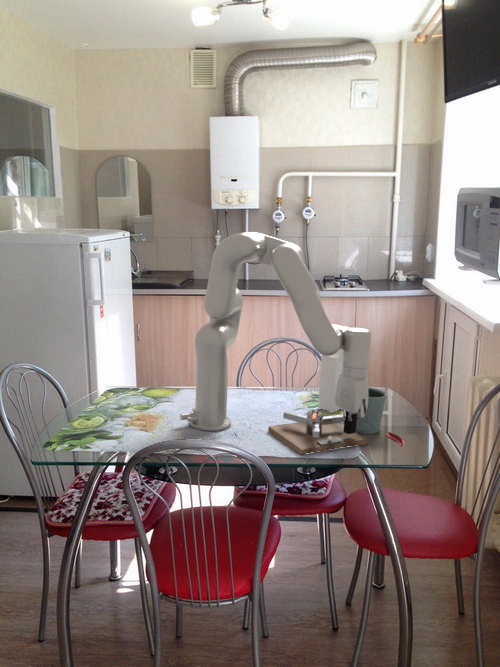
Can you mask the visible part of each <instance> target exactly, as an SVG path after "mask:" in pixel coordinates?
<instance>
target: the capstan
mask: <svg viewBox="0 0 500 667" xmlns="http://www.w3.org/2000/svg"><path fill="white" fill-rule="evenodd" d="M282 419H285V420H289V421H293V422H295V423H297V422H300V423H304V424H306V432H307V433H309V434H312V436H313V437H316V438H319V434H321V433H322V425H327V424H334V423H339V424H341V423H344V418H343V414H333V415H327V416H324V413H323V412H320V410H319V409H312V410H311V411H308V412H307V413H306V415H304V414H301V413H300V414H299V413H296V412H292V411H288V410H286V411H284V412H283V417H282Z"/></svg>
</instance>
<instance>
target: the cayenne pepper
mask: <svg viewBox="0 0 500 667" xmlns="http://www.w3.org/2000/svg"><path fill="white" fill-rule="evenodd" d="M386 436H387V438H389V439H391V440H392V441H394V442H396V443H397V444H398V445H400V447H403V446H405V444H406V442H405V440H404V439H402V438H401V436H399V435H397V434H395V433H393V432H390V431H388V433H386Z"/></svg>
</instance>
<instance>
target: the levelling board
mask: <svg viewBox="0 0 500 667" xmlns="http://www.w3.org/2000/svg"><path fill="white" fill-rule="evenodd" d="M267 431H268V432H269V433H270V434H271V435H272V436H274V437H276V438H277V439H278V440H279V439H280V441H281V442H282V443H284V445H286V444H287V445H286V446H288V447H289V448H291V449H292V450H293V449H294V450H293V451H294V452H296V453H297V452H298V453H297V454H299V455H300V454H301V455H300V456H303V455H302V454H305V455H307V454H306V453H311V452H317V451H323V452H325V451H324V450H329V449H335V448H340V447H347V446H354V447H356V446H355V445H358V446H357V447H359V446H360V447H361V446H366V445H367V441H368V440H367V438H365V437H364V436H362V435H360V434H358V432H355V433H352V434H346V433H344V424H341V423H334V424H327V425H322V433H321V434H319V438H316V437H313V436H312V434H309V433H307V432H306V424H304V423H300V422H291V423H283V424H275V425H270V426H268V428H267ZM329 436H331V437H332V439H335V438H338V439H340V440H342V443H340V444H334V445H327V446H320V445H319V444H317V441H322V440H328V439H327V438H328V437H329ZM335 450H336V449H335ZM329 451H330V450H329ZM317 453H318V452H317ZM311 454H312V453H311Z"/></svg>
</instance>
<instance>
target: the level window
mask: <svg viewBox="0 0 500 667" xmlns="http://www.w3.org/2000/svg"><path fill="white" fill-rule="evenodd" d="M340 443H342V440H340V439H338V438H335V439H332V441H328V440H322V441H317V444H319V445H320V446H327V445H334V444H340Z"/></svg>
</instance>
